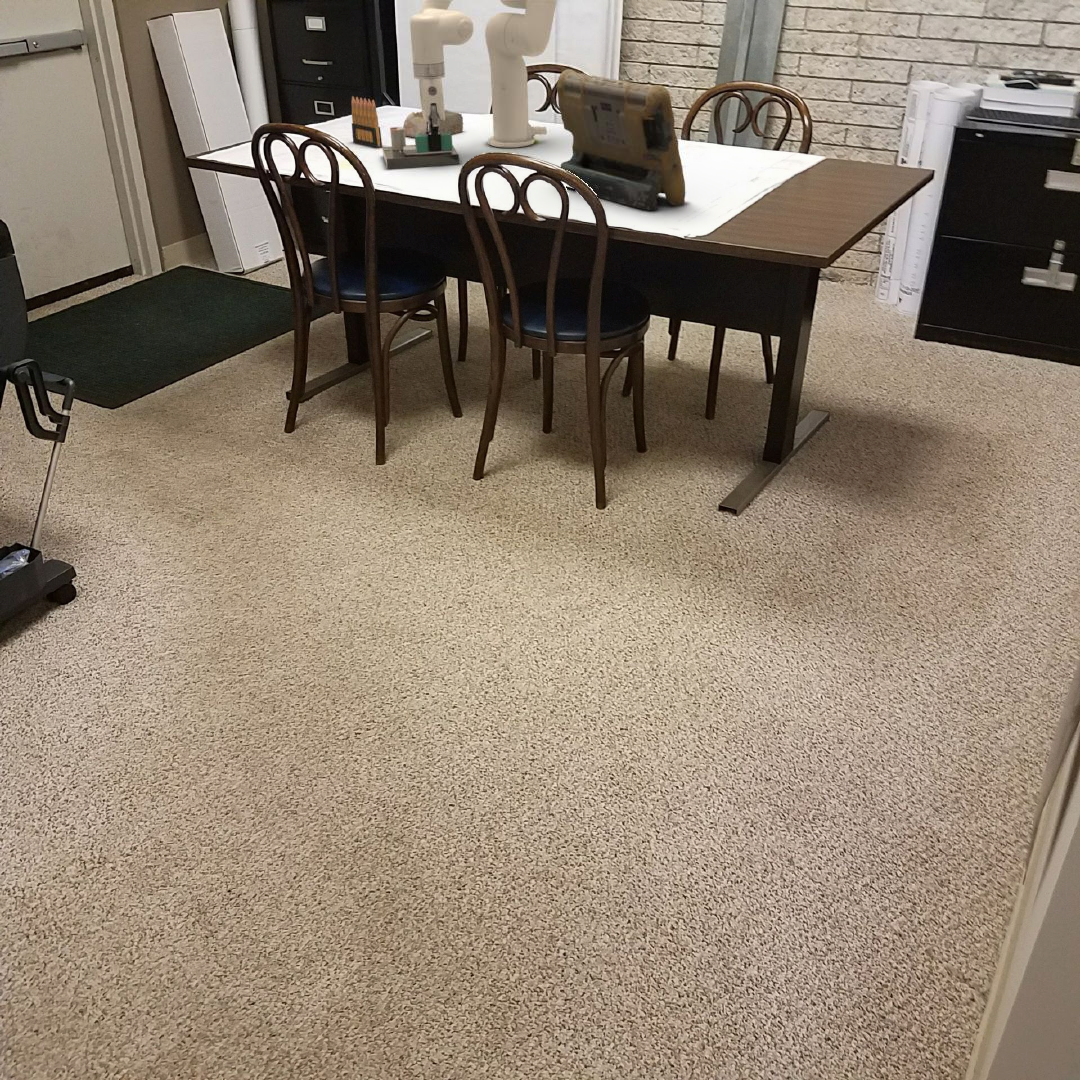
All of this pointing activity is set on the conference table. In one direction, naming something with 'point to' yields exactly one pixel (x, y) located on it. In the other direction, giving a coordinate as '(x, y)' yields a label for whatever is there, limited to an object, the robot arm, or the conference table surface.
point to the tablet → (622, 139)
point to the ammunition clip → (365, 123)
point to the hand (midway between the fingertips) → (434, 148)
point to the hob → (418, 158)
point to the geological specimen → (452, 123)
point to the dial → (398, 138)
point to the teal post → (422, 144)
